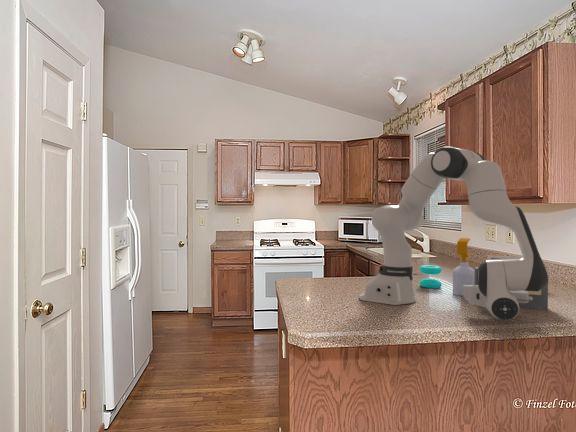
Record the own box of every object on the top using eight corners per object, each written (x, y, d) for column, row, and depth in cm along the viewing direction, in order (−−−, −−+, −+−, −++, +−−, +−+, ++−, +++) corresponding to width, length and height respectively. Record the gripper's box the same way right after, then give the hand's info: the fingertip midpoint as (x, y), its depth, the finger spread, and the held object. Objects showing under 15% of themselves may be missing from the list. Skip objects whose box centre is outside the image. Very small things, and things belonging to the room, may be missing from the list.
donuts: (416, 264, 182) (436, 264, 182) (416, 284, 182) (436, 284, 182) (423, 267, 172) (445, 267, 172) (423, 288, 172) (445, 289, 172)
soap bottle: (478, 294, 161) (478, 238, 160) (471, 297, 154) (471, 239, 154) (456, 291, 167) (457, 237, 167) (449, 294, 160) (449, 238, 160)
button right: (528, 294, 134) (528, 283, 134) (523, 290, 140) (524, 280, 140) (541, 295, 132) (541, 284, 132) (536, 291, 139) (536, 280, 139)
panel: (475, 303, 144) (475, 255, 144) (474, 301, 147) (474, 254, 147) (547, 309, 135) (548, 258, 135) (545, 307, 138) (545, 257, 137)
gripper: (534, 290, 117) (525, 282, 130) (463, 285, 125) (461, 278, 138) (534, 310, 117) (525, 300, 130) (463, 303, 125) (461, 295, 138)
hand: (492, 289), depth 134 cm, fingers closed
